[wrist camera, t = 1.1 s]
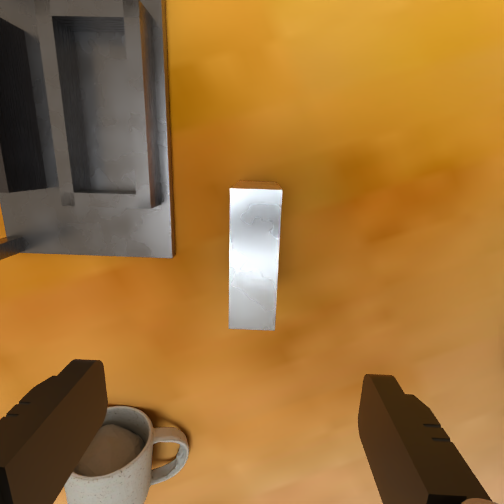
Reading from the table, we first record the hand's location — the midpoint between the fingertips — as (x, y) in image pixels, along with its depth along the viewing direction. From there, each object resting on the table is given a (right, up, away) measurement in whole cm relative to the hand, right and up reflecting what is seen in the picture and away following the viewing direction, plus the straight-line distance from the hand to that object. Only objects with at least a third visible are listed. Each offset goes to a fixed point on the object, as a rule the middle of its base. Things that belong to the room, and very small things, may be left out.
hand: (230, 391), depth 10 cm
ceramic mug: (-11, -15, +24) cm, 30 cm away
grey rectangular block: (+1, +6, +17) cm, 18 cm away
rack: (-13, +15, +15) cm, 25 cm away
